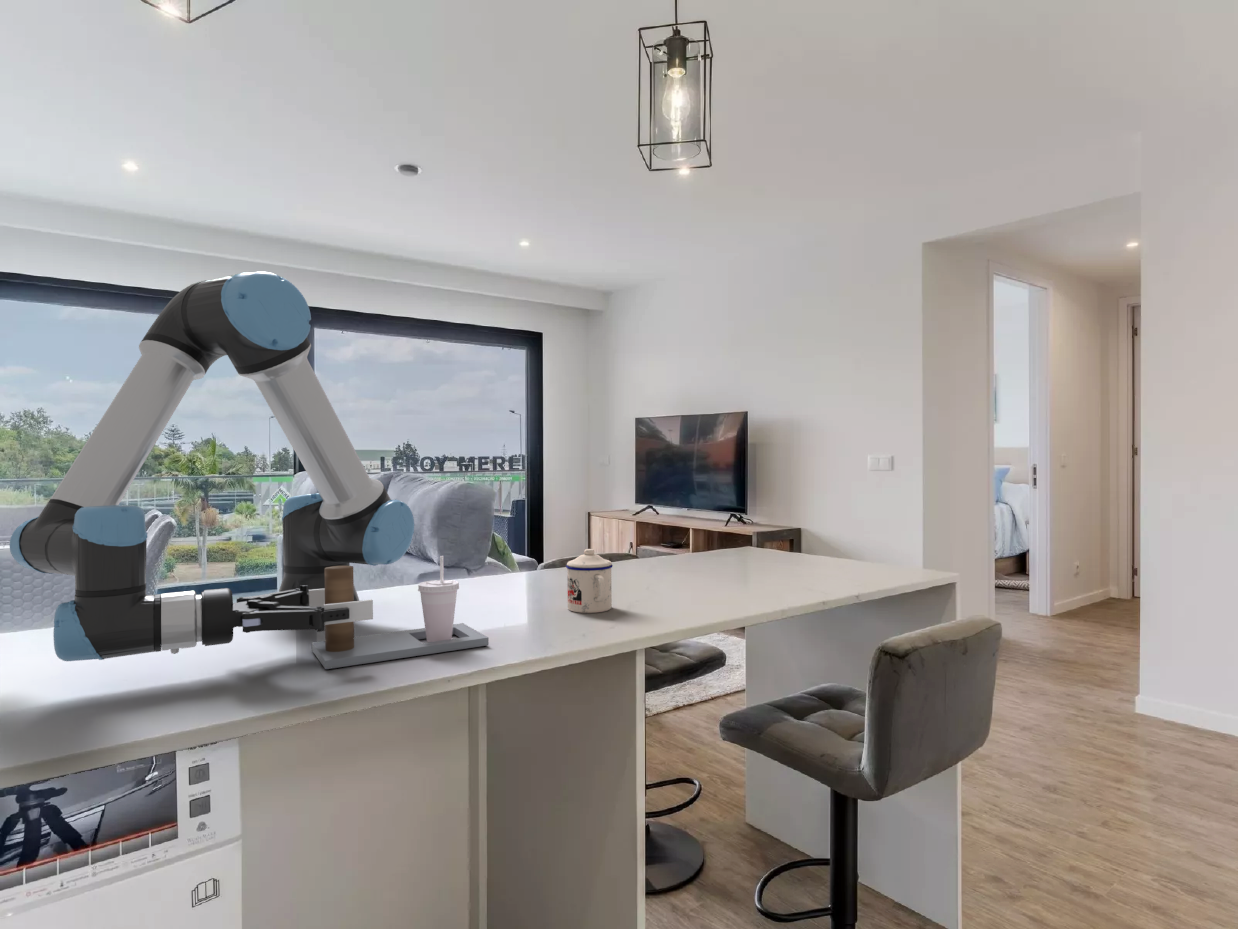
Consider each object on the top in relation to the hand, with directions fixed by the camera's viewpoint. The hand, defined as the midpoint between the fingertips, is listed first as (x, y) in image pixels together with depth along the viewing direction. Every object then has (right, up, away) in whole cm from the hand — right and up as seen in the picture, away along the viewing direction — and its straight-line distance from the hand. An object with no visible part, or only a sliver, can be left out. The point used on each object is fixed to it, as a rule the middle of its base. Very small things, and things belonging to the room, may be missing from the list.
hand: (362, 601), depth 109 cm
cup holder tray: (+5, -8, +3) cm, 10 cm away
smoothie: (+10, -8, +6) cm, 14 cm away
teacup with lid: (+34, -8, +31) cm, 46 cm away
